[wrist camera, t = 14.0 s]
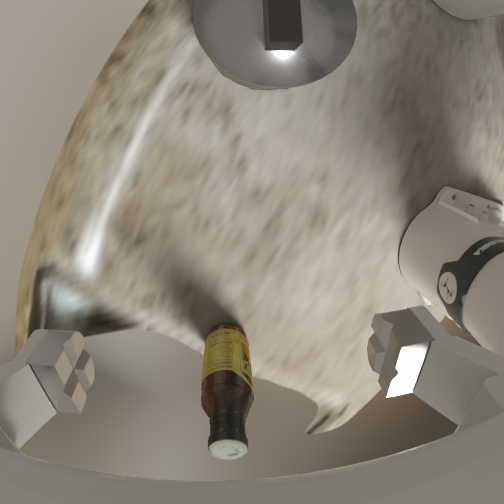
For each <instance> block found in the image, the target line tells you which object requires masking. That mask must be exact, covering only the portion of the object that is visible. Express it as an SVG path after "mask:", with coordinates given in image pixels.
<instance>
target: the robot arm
mask: <svg viewBox="0 0 504 504" xmlns="http://www.w3.org/2000/svg"><path fill="white" fill-rule="evenodd" d="M453 195H454V197H453V199H452V196H453ZM399 265H400V270H401V273H402V276H403V278H404V279H405V281H406V282H407V283H408V284H409V285H410V286H411V287H413V288H414V289H416V290H417V291H418V292H419V295H420V297H421V299H422V301H423V302H425V303H426V304H427V305H431V304H433V305H434V306H435V307H436V308H438V309H439V310H440V311H441V312H442V313H444V314H445V315H446V316H447V317H448V318H450V319H452V320H454V321H455V323H456V324H457V325H458V326H459V327H460V328H461V329H463V330H464V331H465V332H466V333H469V334H472V335H473V336H474V337H475V339H476V340H477V341H478V342H479V343H480V344H481V346H482V347H483V348H482V347H480V346H477V345H475V344H473V343H470V342H468V341H466V340H464V339H461V338H459V337H457V336H453V337H451V336H450V335H449V334H448V333H447V332H446V330H445V329H444V328H443V327H442V326H441V324H440V323H439V322H438V321H437V320H436V319H435V318H434V316H433V315H432V314H431V313H430V312H429V311H428V310H427V308H426V307H424V306H416V307H411V308H407V309H403V310H397V311H391V312H385V313H378V314H375V315H374V317H373V320H372V325H371V327H372V328H373V330H374V334H373V335H372V336H371V337H370V338H369V341H368V347H367V352H368V360H369V364H370V366H371V368H372V370H373V371H375V372H376V373H378V374H380V376H379V380H378V382H379V384H380V386H381V388H382V390H383V392H384V394H385V396H386V398H388V397H392V396H397V395H401V394H406V393H410V392H413V394H415V395H416V396H417V397H419V398H420V399H422V400H423V401H425V402H426V403H427V404H429V405H430V406H432V407H433V408H434V409H436V410H437V411H439V412H440V413H442V414H443V415H444V416H446V417H447V418H449V419H450V420H451V421H453V422H454V423H456V424H457V425H459V426H458V427H457V429H456V431H455V432H454V434H452V435H449V436H447V437H444V438H441V439H439V440H436V441H433V442H430V443H427V444H425V445H422V446H419V447H416V448H413V449H409V450H406V451H403V452H400V453H396V454H393V455H389V456H386V457H382V458H379V459H374V460H370V461H367V462H363V463H358V464H353V465H349V466H344V467H339V468H334V469H329V470H323V471H317V472H311V473H304V474H297V475H290V476H281V477H272V478H261V479H247V480H223V481H187V480H165V479H150V478H140V477H129V476H122V475H114V474H107V473H101V472H95V471H89V470H84V469H79V468H74V467H69V466H64V465H60V464H55V463H51V462H48V461H44V460H40V459H36V458H33V457H29V456H26V455H24V454H23V453H22V452H21V451H20V450H19V448H20V447H21V446H22V445H23V444H24V443H25V442H26V441H27V440H28V439H29V438H30V437H31V436H32V435H33V434H35V433H36V432H37V431H38V430H39V429H40V428H41V427H42V426H43V425H44V424H45V423H46V422H47V421H48V420H49V419H50V418H51V417H52V416H53V415H54V414H56V411H59V412H68V413H77V414H81V411H82V408H83V406H84V403H85V401H86V399H87V396H86V393H85V391H86V390H87V389H88V388H90V387H91V386H92V383H93V381H94V373H95V368H94V364H93V360H92V358H91V355H90V354H89V353H87V352H86V351H85V350H84V347H85V344H86V343H85V340H84V338H83V336H82V334H81V333H79V332H78V331H61V330H42V329H38V330H35V331H34V332H33V333H32V334H31V336H30V337H29V339H28V340H27V341H26V343H25V344H24V346H23V347H22V348H21V350H20V351H19V353H18V354H17V356H16V357H15V358H14V360H13V362H7V363H6V364H4V365H2V366H0V504H504V206H503V205H501V204H499V203H497V202H494V201H491V200H488V199H485V198H483V197H480V196H477V195H474V194H471V193H468V192H465V191H462V190H458V189H455V188H452V187H449V186H445V187H443V188H442V189H441V190H440V191H439V193H438V194H437V196H436V198H435V199H434V201H433V202H432V203H431V204H430V205H429V206H428V207H427V208H425V209H424V210H423V211H421V212H420V213H419V214H418V215H417V216H416V217H415V219H414V220H413V221H412V222H411V224H410V225H409V227H408V229H407V231H406V233H405V235H404V237H403V240H402V243H401V247H400V253H399Z"/></svg>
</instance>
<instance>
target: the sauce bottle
mask: <svg viewBox="0 0 504 504" xmlns="http://www.w3.org/2000/svg"><path fill="white" fill-rule="evenodd" d="M253 400H254V392H253V382H252V371H251V362H250V352H249V343H248V340H247V337H246V335H245V333H244V332H243V331H242V330H241V329H240V328H238V327H235V326H233V325H220V326H217V327H215V328H213V329H212V330H211V331H210V332H209V334H208V336H207V339H206V342H205V351H204V362H203V373H202V396H201V402H202V407H203V409H204V411H205V413H206V414H207V416H208V417H210V425H211V427H210V436H209V439H208V450H209V452H210V453H211V454H212V455H213V456H216V457H217V458H220V459H236V458H238V457H241V456H243V455H244V454H246V452H247V451H248V439H247V437H246V433H245V422H246V418H247V415H248V413H249V410H250V407H251V405H252V402H253Z"/></svg>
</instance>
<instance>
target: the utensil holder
mask: <svg viewBox="0 0 504 504" xmlns="http://www.w3.org/2000/svg"><path fill="white" fill-rule="evenodd" d="M433 1H434V2H435V3H436V4H437V5H438V6H439V7H440V8H442V9H443V10H444V11H446V12H447V13H449V14H451V15H452V16H455V17H457V18H460V19H464V20H470V19H477V18H484V17H491V16H497V15H503V14H504V0H433Z"/></svg>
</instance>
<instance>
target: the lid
mask: <svg viewBox="0 0 504 504" xmlns="http://www.w3.org/2000/svg"><path fill="white" fill-rule="evenodd" d="M192 17H193V25H194V29H195V33H196V36H197V38H198V40H199V42H200V45H201V46H202V48H203V49H204V51H205V53H206V54H207V55H208V56H209V57H210V59H211V60H212V61H213V62H214V63H215V64H216V65H218V66H219V67H220V68H221V69H223V70H224V71H225V72H227V73H228V74H230V75H232V76H234V77H236V78H237V79H240V80H242V81H245V82H247V83H250V84H254V85H257V86H263V87H269V88H291V87H297V86H302V85H305V84H309V83H312V82H314V81H316V80H319V79H321V78H323V77H325V76H326V75H328V74H330V73H331V72H332V71H334V70H335V69H336V68H337V67H338V66H339V65H340V64H341V63H342V62H343V61H344V60H345V59H346V57H347V56H348V54H349V53H350V51H351V48H352V46H353V44H354V41H355V37H356V32H357V16H356V11H355V7H354V4H353V1H352V0H194V3H193V12H192Z"/></svg>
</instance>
